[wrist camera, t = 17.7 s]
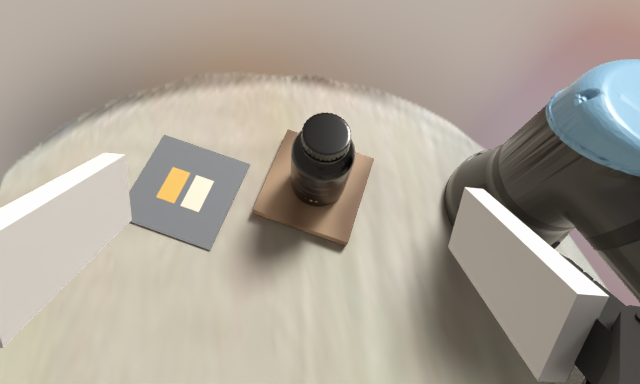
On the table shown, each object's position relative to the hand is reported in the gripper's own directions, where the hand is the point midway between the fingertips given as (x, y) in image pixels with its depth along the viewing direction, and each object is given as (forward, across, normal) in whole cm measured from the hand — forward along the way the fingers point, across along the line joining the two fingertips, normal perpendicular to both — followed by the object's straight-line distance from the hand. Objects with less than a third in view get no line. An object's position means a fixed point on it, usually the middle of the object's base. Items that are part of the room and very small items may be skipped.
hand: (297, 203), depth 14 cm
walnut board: (+31, +2, -11) cm, 33 cm away
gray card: (+29, -14, -13) cm, 35 cm away
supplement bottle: (+30, +2, -10) cm, 32 cm away
